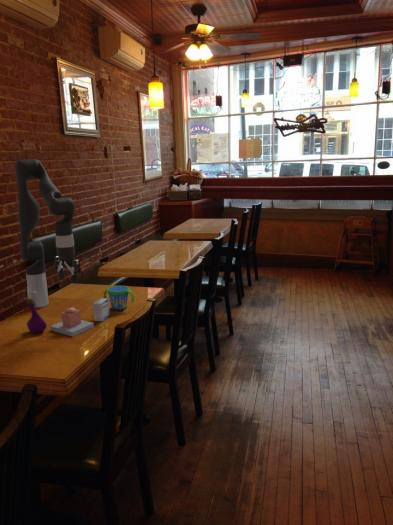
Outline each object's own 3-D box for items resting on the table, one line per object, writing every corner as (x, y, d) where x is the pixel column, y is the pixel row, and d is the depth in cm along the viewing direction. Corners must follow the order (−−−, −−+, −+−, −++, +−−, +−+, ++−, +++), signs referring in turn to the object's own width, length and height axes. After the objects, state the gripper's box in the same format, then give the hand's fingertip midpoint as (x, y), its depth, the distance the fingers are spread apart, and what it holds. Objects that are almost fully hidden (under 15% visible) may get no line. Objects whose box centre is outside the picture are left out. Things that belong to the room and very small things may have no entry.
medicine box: (103, 321, 196) (101, 303, 194) (94, 321, 197) (92, 303, 195) (110, 315, 204) (108, 298, 202) (101, 315, 205) (99, 297, 203)
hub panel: (51, 330, 187) (49, 318, 186) (72, 321, 197) (71, 310, 196) (72, 336, 180) (71, 324, 179) (94, 327, 190) (93, 315, 188)
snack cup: (138, 306, 216) (137, 286, 214) (127, 313, 207) (126, 292, 204) (111, 303, 222) (110, 284, 219) (100, 309, 212) (98, 290, 210)
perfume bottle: (29, 336, 182) (24, 295, 177) (27, 330, 188) (22, 291, 184) (47, 332, 185) (43, 292, 181) (45, 327, 191) (40, 288, 187)
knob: (62, 325, 187) (61, 309, 185) (73, 321, 192) (72, 305, 190) (70, 327, 184) (68, 311, 183) (81, 323, 189) (79, 307, 187)
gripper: (47, 244, 184) (50, 281, 188) (69, 248, 177) (72, 285, 181) (61, 241, 190) (64, 276, 194) (83, 245, 183) (86, 281, 187)
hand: (68, 281), depth 187 cm, fingers open, 8 cm apart
